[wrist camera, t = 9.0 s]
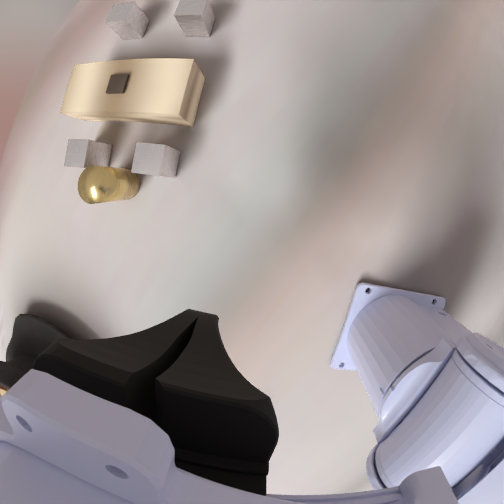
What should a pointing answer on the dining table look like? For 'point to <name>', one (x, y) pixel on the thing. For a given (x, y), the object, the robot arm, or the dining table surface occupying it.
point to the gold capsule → (107, 184)
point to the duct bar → (135, 91)
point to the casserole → (26, 348)
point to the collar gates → (146, 154)
